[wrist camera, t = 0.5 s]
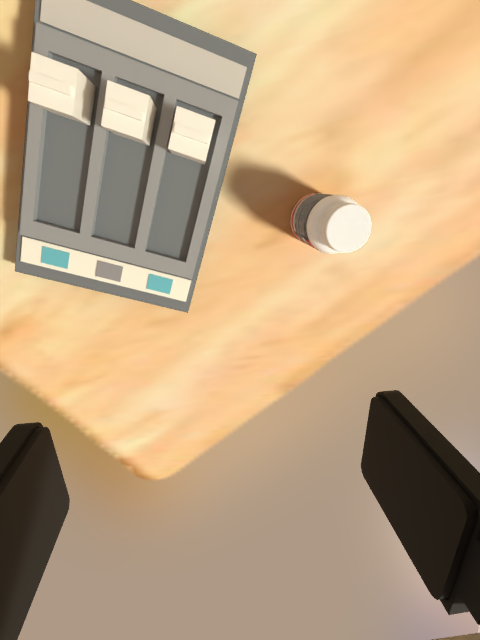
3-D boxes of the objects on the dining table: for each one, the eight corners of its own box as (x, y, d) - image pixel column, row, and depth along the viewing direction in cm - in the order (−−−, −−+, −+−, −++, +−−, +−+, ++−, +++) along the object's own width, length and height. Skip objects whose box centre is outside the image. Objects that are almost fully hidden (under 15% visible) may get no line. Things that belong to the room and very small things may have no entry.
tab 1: (57, 72, 27) (27, 48, 22) (95, 86, 28) (75, 66, 23) (53, 113, 28) (23, 98, 23) (90, 126, 28) (69, 114, 24)
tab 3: (179, 117, 29) (176, 103, 24) (213, 129, 30) (216, 118, 25) (172, 153, 30) (167, 147, 25) (204, 164, 31) (205, 161, 26)
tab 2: (120, 95, 28) (105, 77, 23) (156, 108, 29) (148, 93, 24) (114, 134, 29) (98, 124, 24) (149, 146, 30) (140, 138, 25)
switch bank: (49, -24, 26) (33, -47, 24) (252, 62, 30) (258, 50, 27) (24, 266, 34) (10, 273, 31) (188, 306, 38) (187, 315, 35)
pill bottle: (285, 240, 36) (311, 256, 28) (294, 189, 34) (325, 190, 26) (331, 246, 37) (369, 263, 29) (342, 197, 35) (386, 200, 27)
